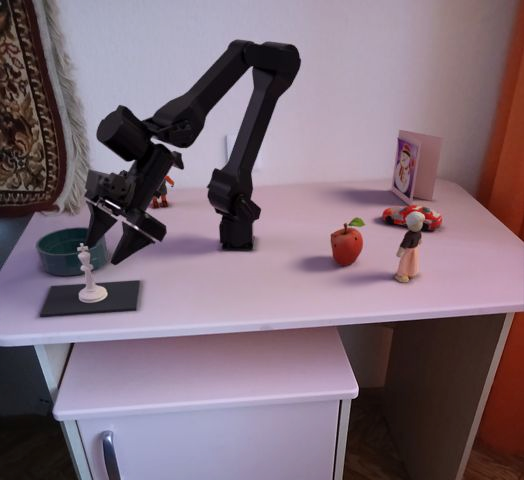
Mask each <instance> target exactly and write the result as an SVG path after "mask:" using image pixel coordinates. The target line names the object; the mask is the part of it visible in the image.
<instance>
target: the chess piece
mask: <svg viewBox="0 0 524 480" xmlns="http://www.w3.org/2000/svg"><path fill="white" fill-rule="evenodd" d="M80 246H81V247H78V248H77V250H78V251H82V253H80V254H79V255H78V257H79V259H80V261H81V262H82V264H83V265H82V266H81V270H82V271H85V273H84V276H85V277H84V278H85V284H86V287H85V288H84V289H82V290H81V291H80V292H79V299H80V301H82V302H85V303H94V302H98V301H101V300H103V299H104V298H106V296H107V291H106V289H105V288H104V287H101V286H97V285H96V284H95V283H96V282H95V279H94V277H93V276H94V275H93V274H92V271H93V270H92V269H93V265H91V264H89V262H90V253H88V252H85V250H88V246H85V247H84V246H83V243H81V244H80ZM91 270H92V271H91Z"/></svg>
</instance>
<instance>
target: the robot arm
mask: <svg viewBox="0 0 524 480" xmlns="http://www.w3.org/2000/svg"><path fill="white" fill-rule="evenodd" d="M301 66H302V58H301V55H300V52H299V49H298V48H297V47H296V45H294V44H292V43H284V42H278V41H264V42H263V43H256V42H254V41H252V40H248V39H239V38H237V39H234V40H232V41H231V42H229V44H228V45H227V48H226V50H225V51H224V52H223V53H222V54H221V55H220V56H219V57H218V58H217V59H216V61H215V62H213V64H212V65H211V66H209V68H208V69H207V70H206V71H205V72H204V73H203V74H202V75H201V77H199V79H198V80H197V81H196V82H194V84H193V85H192V86H191V88H190V89H189V90H187V91H186V92H185V93H184V94H182V95H179V96H177V97H175V98H173V99H170V100H168V102H166V103H165V104H164V105H162V106H161V107H159V108H158V109H156V111H155V112H154V114H153V115H152V116H150V117H147V118H145V119H142V120H140V118H138V117H137V116H136V115H135V114H134V113H133V111H132V110H131V109H130V108H129V107H127V106H125V105H123V104H118V105H117V107H116V109H115V110H113V111H111V112H110V113H109V114H108V115H106V116H105V117H104V118H102V119H101V121H100V122H99V124H98V125H97V128H96V135H95V136H96V140H97V141H98V143H100V144H102V145H103V146H105V147H106V148H107V149H108V150H110V151H111V152H112V153H114V154H115V155H116V156H118V157H119V158H120V159H121V160H123V161H124V162H126V163H129V162H132V164H131V166H130V168H129V170H125V169H122V170H120V172H119V173H116V172H113V171H112V172H110V173H106V172H102V171H98V170H94V169H88V171H87V176H86V181H85V186H84V189H85V190H86V191H85V193H84V194H83V197H84V198H86V199H87V200H86V199H85V204H86V205H87V207H88V211H89V213H90V217H89V223H88V224H89V225H88V227H87V228H88V232H87V237H86V241H85V246H88V247H89V248H91V247H92V246H93V245H94V244H96V243H97V242H98V241H99V240H100V239H101V238H102V237H103V235H106V234H107V233H108V232H109V231H110V229H112V228H113V227H114V226H115V224H117V223H118V221H119V219H117V218H116V217H119V216H121V217H123V218H124V219H125V221H126V222H125V221H123V220H122V221H121V227H122V235H121V237H120V239H119V241H118V243H117V244H116V247H115V249H114V251H113V253H112V256H111V258H110V261H109V264H111V265H113V266H117V265H119V264H121V263H122V262H123V261H125V260H127V259H128V258H129V257H131V256H133V255H135V254H136V253H138V252H139V251H141V250H143V249H145V248H146V247H149V246H150V245H155V244H156V241H158V242H159V243H162V242H163V241H164V239H165V237H166V235H167V234H168V229H167V225H166V224H165V223H163V222H161V221H160V220H158V219H157V218H155V217H154V216H152V215H151V214H150V213H148V212H147V210H148V208H149V206H150V205H151V204H152V202H153V201H152V200H153V198H154V197H155V198H157V200H160V199H161V195H162V194H161V193H160V192H158V189H159V188H160V186H161V184H162V183H163V181H164V179H165V178H166V176H168V174H169V172H170V171H171V169H172V168H173V167H174V168H176V169H179V170H180V171H183V170H185V163H184V161H183V153H181V152H179V151H177V150H173V151H172V150H170V148H168V147H167V145H170V146H172V147H175V148H177V149H188V148H190V147H191V146H193V144H194V143H195V142H196V140H197V139H198V138H199V136H200V134H201V133H202V131H203V130H204V129H205V124H206V120H207V117H208V115H209V114H210V112H212V110H213V109H214V108H215V106H216V105H217V104H218V103H219V102H220V101H221V100H222V99H223V98H224V97H225V96H226V95H227V93H228V92H229V91H230V90H231V89H232V88H233V87H234V86H235V85H236V84H237V83H238V82H239V80H240V79H241V78H242V77H243V76H244V75H245V74H246V73H247V71H249V69H251V68H252V69H251V74H252V75H251V76H252V85H253V89H252V93H251V96H250V97H249V102H248V104H247V107H246V110H245V112H244V115H243V118H242V121H241V124H240V127H239V129H238V133H237V136H236V137H235V141H234V144H233V147H232V150H231V152H230V155H229V158H228V161H227V162H226V163H225V165H224V166H223V167H222V168H221V169H219V168H217V167H214V169H213V171H212V173H211V178H210V180H209V182H208V183H207V185H206V189H207V194H206V195H207V197H206V198H207V199H208V201H209V204H210V206H212V207H213V209H214V211H215V213H216V214H218V215H220V216H221V220H220V222H219V225H218V228H219V229H218V230H219V231H218V232H219V243H220V244H221V250H222V251H253V250H254V246H255V238H256V237H255V235H254V223H255V221H258V220H259V219H260V217H261V213H262V208H261V207H260V206H259V205H258V204H257V203H255V202H254V201H253V200H252V197H253V192H254V184H253V176H252V174H253V173H252V172H253V169H254V167H255V164H256V161H257V159H258V155H259V153H260V151H261V148H262V144H263V142H264V139H265V136H266V134H267V131H268V128H269V125H270V123H271V120H272V117H273V115H274V111H275V109H276V106H277V104H278V101H279V99H280V97H282V96H283V95H284V94H285V93H286V92H287V91H288V90H289V89H290V88H291V87H292V85H293V83H294V81H295V79H296V77H297V76H298V73H299V71H300V70H301ZM152 139H154V140H156V141H159V142H158V143H155V142H154V141H152ZM165 144H167V145H165ZM114 216H115V217H114ZM127 222H128V223H130V224H128V223H127ZM154 239H155V240H156V241H155V240H154Z"/></svg>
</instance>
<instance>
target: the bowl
mask: <svg viewBox="0 0 524 480" xmlns="http://www.w3.org/2000/svg"><path fill="white" fill-rule="evenodd" d="M87 232H88V227H87V226H85V227H84V226H83V227H81V226H76V227H67V228H62V229H58V230H54V231H52V232H48V233H47V234H45V235H42V237H40V238H39V239H38V240H37V241H36V242H35V250H36V254H37V257H38V260H39V263H40V267H41V268H42V270H43V271H45V272H46V273H48V274H50V275H57V276H74V275H76V276H77V275H82V274H85V271H82V270H81V266H82V265H83V264H82V262H81V261H80V259H79V257H78V255H79V254H80V253H82V251H78V250H77V248H78V247H81V246H80V244H81V243H83V246H84V247H85V241H86V237H87ZM85 252H88V253H90V262H89V264H91V265H93V269H92V270H91V272H93V271H95V270H97V269H100V268H101V267H102V266H103V265H105V264H106V263H107V261H108V260H109V258H110V256H109V255H110V254H109V250H108V244H107V239H106V234H104V235H103V237H102V238H101V239H100V240H99V241H98V242H97V243H96V244H94V245H93V246H92V247H91V248H89V247H88V250H85Z"/></svg>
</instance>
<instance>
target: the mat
mask: <svg viewBox="0 0 524 480" xmlns="http://www.w3.org/2000/svg"><path fill="white" fill-rule="evenodd" d="M95 284H96V285H97V286H101V287H104V288H105V289H106V291H107V296H106V298H104V299H103V300H101V301H98V302H94V303H85V302H82V301H80V299H79V292H80V291H81V290H82V289H84V288H85V287H86V283H77V284H60V285H50V288H49V291H48V293H47V296H46V298H45V301H44V304H43V307H42V308H41V311H40V313H39V316H40V318H45V317H48V318H49V317H60V316H61V317H62V316H75V315H87V314H101V313H102V314H103V313H117V312H131V311H137V307H138V300H139V293H140V285H141V280H140V279H136V280H123V281H121V280H120V281H109V282H108V281H107V282H95Z"/></svg>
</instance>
